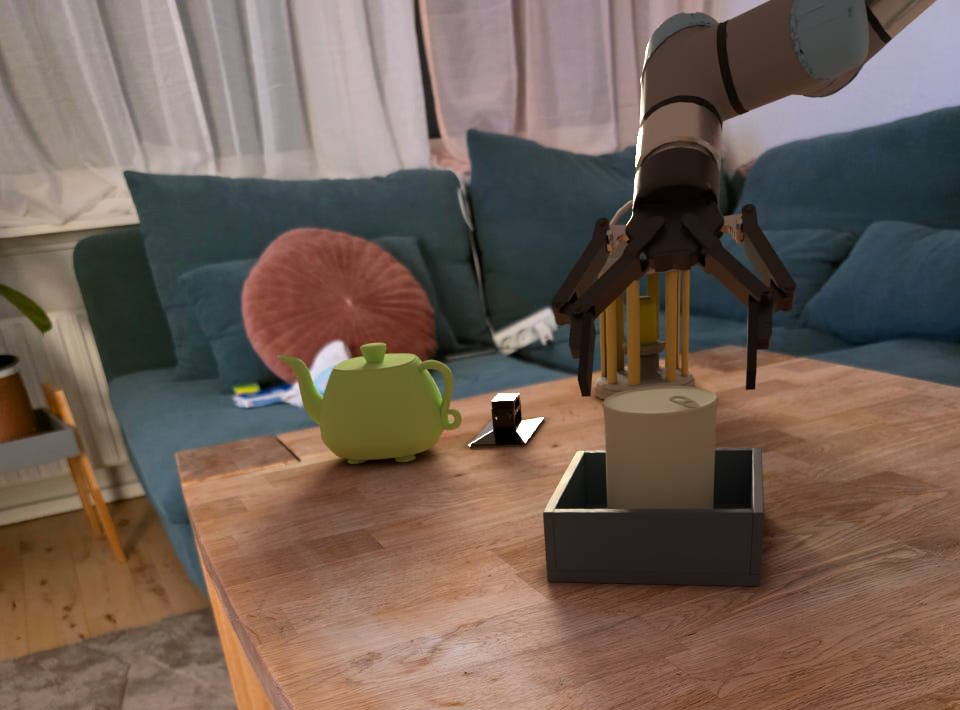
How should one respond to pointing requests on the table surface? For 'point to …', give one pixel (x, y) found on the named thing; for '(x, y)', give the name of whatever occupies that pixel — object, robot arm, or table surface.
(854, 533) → the table surface
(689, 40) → the robot arm
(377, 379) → the teapot
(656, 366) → the lantern
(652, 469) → the can
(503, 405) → the dark brown finned block
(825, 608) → the table surface
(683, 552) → the dark grey open box
